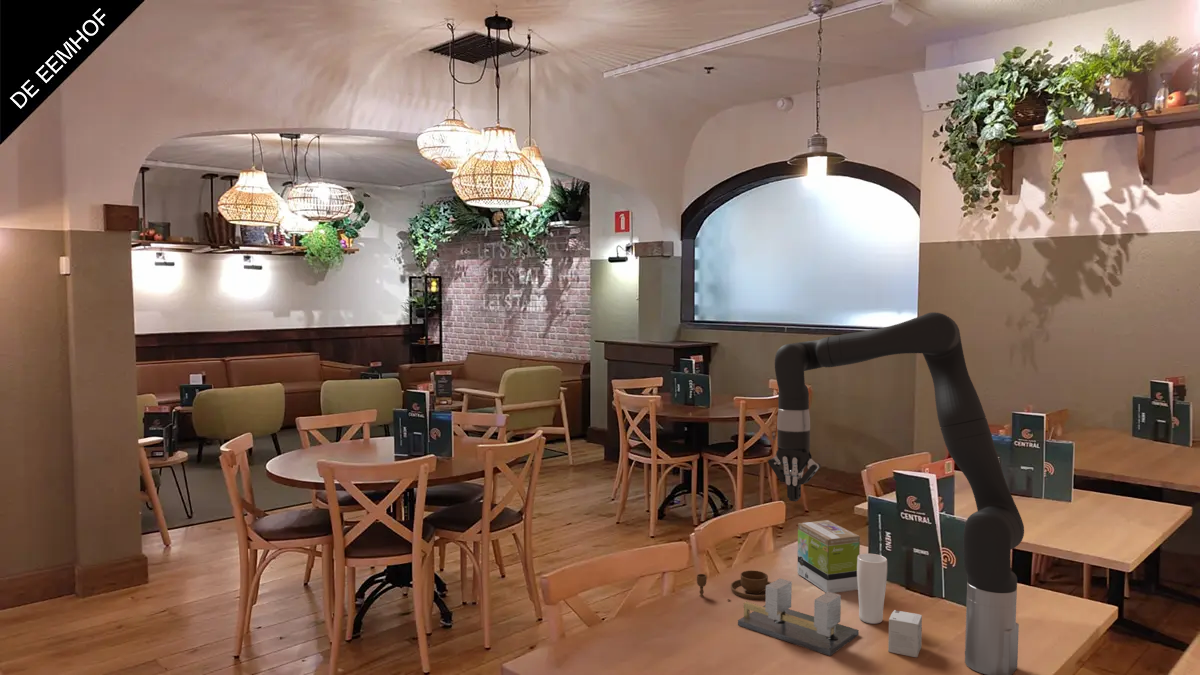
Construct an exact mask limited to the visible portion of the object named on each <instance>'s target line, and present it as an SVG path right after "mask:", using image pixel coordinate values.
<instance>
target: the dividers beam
mask: <svg viewBox="0 0 1200 675" xmlns="http://www.w3.org/2000/svg"><path fill="white" fill-rule="evenodd" d="M813 602H814V603H813V604H814V606H813V607H814V608H813V610H814V611H813V616H814V622H812V621H808V620H805V619H802V618H799V617H795V616H792V615H789V614H786V613H781V620H784V621H787V622H790V623H793V624H796V625H799V626H803V627H806V628H809V629H812V630H815V631H817V633H818V634H821V635H824V636H828V637H830V638H831V639H834V637H835V628H836V624H840V622H841V610H842V609H841V607H842V606H841V605H842V604H841V603H842V596H841V594H839V593H832V592H827V593H826V592H824V593H823V594H822V595H819V597H817V598H814V601H813ZM763 606H764V605H763ZM763 606H762V605H759V604H756V603H752V602H749V601H745V602H743V617H745V618H748V617H750V613H751V612H750V611H752V612H754V611H755V612H758V613H761V614H764V615H768V612H765V607H763Z"/></svg>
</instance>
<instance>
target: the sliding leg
mask: <svg viewBox="0 0 1200 675" xmlns="http://www.w3.org/2000/svg"><path fill="white" fill-rule="evenodd" d="M792 585H793V582H792V581H791V580H788V579H784V578H778V579H775V581H772V582H771V583H770V584H768V585H766V589H765V595H766V599H765V603H764V604H765V612H768V618H771V619H774V620H777V621H782V622H786V621H784V620H781V613H786V610H787V609H790V608H792V593H793V591H792V588H793V586H792Z"/></svg>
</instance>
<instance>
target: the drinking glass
mask: <svg viewBox="0 0 1200 675" xmlns="http://www.w3.org/2000/svg"><path fill="white" fill-rule="evenodd" d="M887 579H888V559H887V558H886V557H885V556H883V555H881V554H877V553H860V555H858V557H857V585H858V589H857V595H858V596H857V598H858V618H859V620H860V621H862V622H864V623H867V624H871V625H874V624H875V625H876V624H880V623H881V622H883V618H884V617H883V616H884V606H885V605H884V604H885V596H886V590H887V588H886V586H887V581H888V580H887Z"/></svg>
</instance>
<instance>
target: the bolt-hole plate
mask: <svg viewBox="0 0 1200 675" xmlns="http://www.w3.org/2000/svg"><path fill="white" fill-rule="evenodd" d="M763 607H765V605H763ZM786 614H789V615H792V616H795V617H799V618H802V619H805V620H808V621H812V622H814V615H810V614H807V613H803V612H800V611H797V610H794V609H790V608H789V609H787V610H786ZM737 626H739V627H742V628H745V629H747V630H751V631H755V632H757V633H760V634H762V635H766V636H769V637H772V638H775V639H778V640H781V641H784V642H787V643H790V644H793V645H797V646H799V647H802V648H804V649H809V650H810V651H811V650H812V651H813V652H816V653H819V654H824V655H826V656H829V657H831V656H833V654H835V653H836V652H838V651H839V650H841V649H842V648H843V647H844V646H846V645H847V644H849V643H850V642H851V641H853V640H854V639H856V638H857V637H858V636H859V633H860V632H859V629H857V628H853V627H849V626H847V625H843V624H840V623H838V624H836V628H835V637H834V639H831V638H830V637H828V636H824V635H821V634H818V633H817V631H815V630H812V629H809V628H806V627H803V626H799V625H796V624H793V623H790V622H787V621H786V622H782V621H777V620H774V619H771V618H768V615H764V614H761V613H758V612H755V611H752V612H750V617H748V618H745V617H744V616H743V617H741V618H740V619H738V620H737Z"/></svg>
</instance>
